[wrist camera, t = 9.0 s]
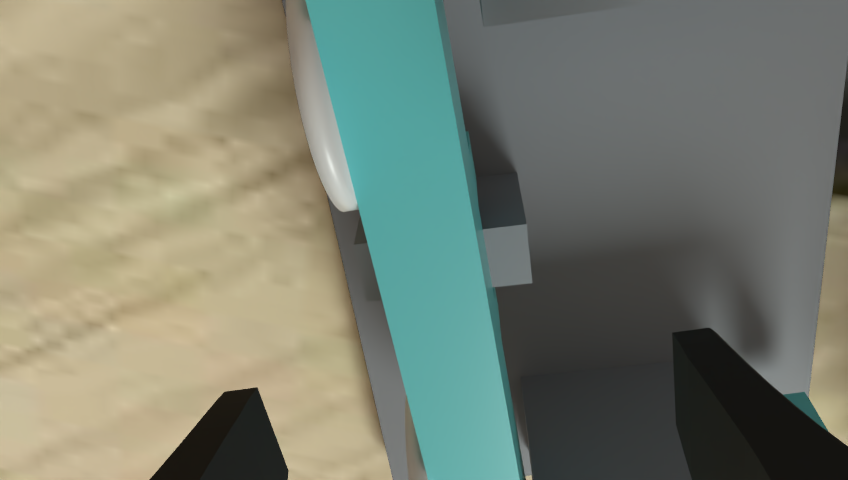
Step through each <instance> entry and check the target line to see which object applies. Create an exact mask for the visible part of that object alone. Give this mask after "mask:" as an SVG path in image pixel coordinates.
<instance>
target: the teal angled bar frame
mask: <svg viewBox="0 0 848 480" xmlns="http://www.w3.org/2000/svg"><path fill="white" fill-rule="evenodd" d="M286 23H287V35H288V46H289V53H290V61H291V68H292V74H293V80H294V85H295V91H296V96H297V101H298V105H299V110H300V114H301V119H302V123H303V126H304V130H305V134H306V138H307V141H308V145H309V148H310V151H311V155H312V158H313V160H314V163H315V166H316V169H317V172H318V174H319V177H320V179H321V182H322V184H323V186H324V188H325V191H326V193H327V194H328V196H329V198H330V200H331V201H332V203H333V204H334V205H335V207H336V208H337V209H338V210H340V211H342V212H347V211H353V210H359V212H360V216H361V220H362V224H363V227H364V231H365V235H366V239H367V243H368V247H369V251H370V255H371V259H372V263H373V266H374V270H375V274H376V278H377V282H378V286H379V290H380V294H381V298H382V302H383V306H384V309H385V313H386V317H387V321H388V325H389V329H390V333H391V337H392V341H393V345H394V349H395V352H396V356H397V360H398V364H399V368H400V372H401V376H402V380H403V384H404V388H405V391H406V401H405V439H406V455H407V467H408V477H409V480H526V478H525V472H524V466H523V461H522V455H521V449H520V443H519V437H518V432H517V426H516V420H515V414H514V408H513V403H512V397H511V391H510V385H509V380H508V374H507V368H506V362H505V356H504V351H503V345H502V338H501V328H500V319H499V309H498V302H497V296H496V290H495V287H492V281H491V275H490V269H489V264H488V258H487V252H486V246H485V241H484V235H483V229H482V223H481V217H480V212H479V206H478V194H477V181H476V173H475V167H474V161H473V156H472V150H471V144H470V138H469V132H468V131H466V130H465V125H464V119H463V113H462V107H461V102H460V96H459V90H458V84H457V78H456V73H455V67H454V61H453V55H452V49H451V44H450V38H449V32H448V26H447V20H446V15H445V9H444V3H443V0H286ZM783 395H784V396H785V397H786V398H787V399H788V400H790V401H791V402H792V403H793V404H794V405H795V406H797V407H798V408H799V409H800V410H801V411H803V412H804V413H805V414H806V415H808V416H809V417H810V418H811V419H813V420H814V421H815V422H816V423H818V424H819V425H820V426H821V427H823V428H824V429H825V430H827V428H826V427H825V425H824V423H823V422H822V420H821V418H820V417H819V415H818V413H817V412H816V410H815V408H814V407H813V405H812V403H811V402H810V400H809V398H808V397H807V395H806V393H805V392H799V393H791V394H783ZM827 431H828V430H827Z"/></svg>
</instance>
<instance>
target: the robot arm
mask: <svg viewBox="0 0 848 480" xmlns="http://www.w3.org/2000/svg"><path fill="white" fill-rule="evenodd" d="M672 342H673V366H674V390H675V414H676V426H677V430H678V434H679V437H680V441H681V444H682V448H683V451H684V455H685V458H686V462H687V465H688V468H689V472H690V475H691V478H692V480H848V446H847V445H845V444H844V443H842V442H841V441H840V440H839V439H837V438H836V437H835V436H833V435H832V434H831V433H829V432H828V431H827V430H825V429H824V428H823V427H821V426H820V425H819V424H818V423H816V422H815V421H814V420H813V419H811V418H810V417H809V416H808V415H806V414H805V413H804V412H803V411H801V410H800V409H799V408H798V407H797V406H795V405H794V404H793V403H792V402H791V401H790V400H788V399H787V398H786V397H785V396H784V395H783V394H781V393H780V392H779V391H778V390H777V389H776V388H774V387H773V386H772V385H771V384H770V383H769V382H768V381H767V380H765V379H764V378H763V377H762V376H761V375H760V374H759V373H758V372H757V371H756V370H755V369H753V368H752V367H751V366H750V365H749V364H748V363H747V362H746V361H745V360H744V359H743V358H742V357H741V356H740V355H739V354H738V353H737V352H736V351H735V350H734V349H732V348H731V347H730V346H729V345H728V344H727V343H726V342H725V341H724V340H723V339H722V338H721V337H720V336H719V335H718V334H717V333H716V332H715V331H714V330H712V329H711V328H702V329H695V330H687V331H680V332H672ZM150 480H288V468H287V466H286V463H285V460H284V458H283V455H282V452H281V450H280V447H279V444H278V442H277V439H276V436H275V434H274V431H273V428H272V426H271V423H270V420H269V418H268V415H267V412H266V410H265V407H264V404H263V401H262V399H261V396H260V393H259V391H258V388H250V389H242V390H235V391H227V392H224V393H223V394H222V395H221V396H220V397H219V399H218V400H217V401H216V402H215V403H214V404H213V406H212V407H211V408H210V409H209V410H208V411H207V413H206V414H205V415H204V416H203V417H202V419H201V420H200V421H199V422H198V423H197V425H196V426H195V427H194V428H193V429H192V431H191V432H190V433H189V434H188V435H187V437H186V438H185V439H184V440H183V441H182V443H181V444H180V445H179V446H178V447H177V449H176V450H175V451H174V452H173V453H172V454H171V456H170V457H169V458H168V459H167V460H166V461H165V463H164V464H163V465H162V466H161V467H160V468H159V470H158V471H157V472H156V473H155V474H154V475H153V476H152V478H151V479H150Z"/></svg>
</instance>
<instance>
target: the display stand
mask: <svg viewBox="0 0 848 480" xmlns="http://www.w3.org/2000/svg"><path fill="white" fill-rule="evenodd" d="M282 3H283V7H284V11H285V16H286V0H282ZM443 3H444V9H445V15H446V20H447V26H448V32H449V38H450V44H451V49H452V55H453V61H454V67H455V73H456V78H457V84H458V90H459V96H460V102H461V107H462V113H463V119H464V125H465V130H466V131H468V132H469V138H470V144H471V150H472V156H473V161H474V167H475V173H476V181H477V194H478V206H479V212H480V217H481V223H482V229H483V235H484V241H485V246H486V252H487V258H488V264H489V269H490V275H491V281H492V287H495V290H496V296H497V302H498V309H499V319H500V328H501V338H502V345H503V351H504V356H505V362H506V368H507V374H508V380H509V385H510V391H511V397H512V403H513V408H514V414H515V420H516V426H517V432H518V437H519V443H520V449H521V455H522V461H523V466H524V472H525V476H528V475H532V480H692V478H691V475H690V472H689V468H688V465H687V462H686V458H685V455H684V451H683V448H682V444H681V441H680V437H679V434H678V430H677V426H676V414H675V390H674V366H673V342H672V332H680V331H687V330H695V329H702V328H711V329H712V330H714V331H715V332H716V333H717V334H718V335H719V336H720V337H721V338H722V339H723V340H724V341H725V342H726V343H727V344H728V345H729V346H730V347H731V348H732V349H734V350H735V351H736V352H737V353H738V354H739V355H740V356H741V357H742V358H743V359H744V360H745V361H746V362H747V363H748V364H749V365H750V366H751V367H752V368H753V369H755V370H756V371H757V372H758V373H759V374H760V375H761V376H762V377H763V378H764V379H765V380H767V381H768V382H769V383H770V384H771V385H772V386H773V387H774V388H776V389H777V390H778V391H779V392H780V393H781V394H791V393H799V392H805V393H806V395H807V397H809V388H810V380H811V371H812V362H813V354H814V345H815V337H816V328H817V319H818V311H819V302H820V293H821V285H822V276H823V267H824V259H825V250H826V241H827V233H828V224H829V215H830V207H831V198H832V189H833V181H834V172H835V164H836V155H837V146H838V138H839V129H840V120H841V112H842V103H843V94H844V86H845V77H846V68H847V60H848V0H443ZM327 197H328V201H329V206H330V210H331V214H332V218H333V223H334V227H335V231H336V236H337V240H338V244H339V249H340V253H341V257H342V262H343V266H344V270H345V275H346V279H347V283H348V288H349V292H350V296H351V301H352V305H353V309H354V313H355V318H356V322H357V326H358V331H359V335H360V339H361V344H362V348H363V352H364V357H365V361H366V365H367V370H368V374H369V378H370V383H371V387H372V391H373V395H374V400H375V404H376V408H377V413H378V417H379V421H380V426H381V430H382V434H383V439H384V443H385V447H386V452H387V456H388V460H389V465H390V469H391V473H392V478H393V480H409V477H408V467H407V455H406V439H405V401H406V391H405V388H404V384H403V380H402V376H401V372H400V368H399V364H398V360H397V356H396V352H395V349H394V345H393V341H392V337H391V333H390V329H389V325H388V321H387V317H386V313H385V309H384V306H383V302H382V298H381V294H380V290H379V286H378V282H377V278H376V274H375V270H374V266H373V263H372V259H371V255H370V251H369V247H368V243H367V239H366V235H365V231H364V227H363V224H362V220H361V216H360V212H359V210H353V211H347V212H342V211H340V210H338V209H337V208H336V207H335V205H334V204H333V203H332V201H331V200H330V198H329V196H328V194H327Z"/></svg>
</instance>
